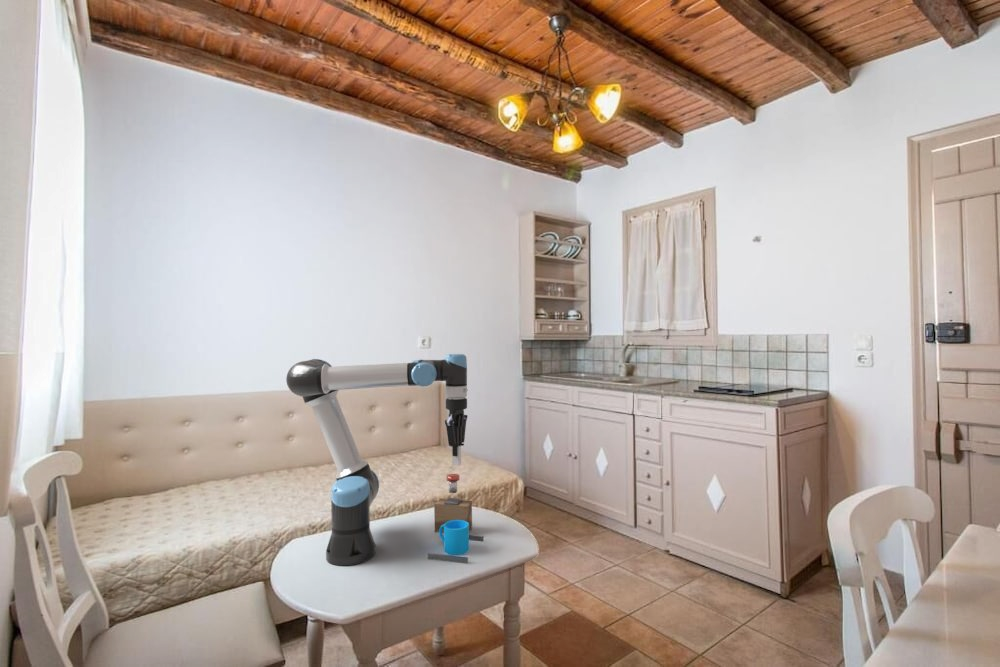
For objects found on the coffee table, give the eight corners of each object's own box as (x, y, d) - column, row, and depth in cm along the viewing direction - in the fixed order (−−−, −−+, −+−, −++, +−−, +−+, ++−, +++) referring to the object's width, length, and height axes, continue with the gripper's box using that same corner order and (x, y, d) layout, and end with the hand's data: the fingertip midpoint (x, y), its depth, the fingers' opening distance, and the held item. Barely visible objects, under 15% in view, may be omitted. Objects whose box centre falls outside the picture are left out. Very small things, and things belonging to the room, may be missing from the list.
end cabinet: (466, 535, 169) (466, 505, 169) (434, 532, 172) (434, 502, 172) (472, 528, 175) (471, 499, 175) (441, 525, 178) (440, 496, 178)
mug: (474, 548, 158) (474, 523, 158) (456, 557, 152) (456, 531, 152) (448, 539, 166) (448, 515, 166) (430, 547, 160) (430, 522, 160)
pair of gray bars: (427, 558, 152) (427, 553, 152) (447, 536, 168) (447, 532, 168) (467, 563, 148) (467, 558, 148) (483, 540, 165) (483, 536, 165)
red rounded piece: (444, 493, 172) (444, 477, 172) (449, 489, 176) (449, 473, 176) (456, 494, 170) (456, 477, 170) (461, 490, 175) (461, 474, 175)
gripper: (457, 400, 163) (457, 470, 163) (473, 396, 175) (474, 461, 175) (437, 399, 166) (438, 468, 166) (455, 395, 178) (455, 459, 178)
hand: (456, 464), depth 171 cm, fingers closed
